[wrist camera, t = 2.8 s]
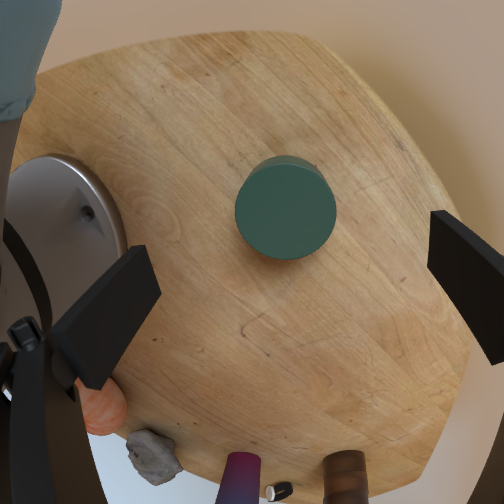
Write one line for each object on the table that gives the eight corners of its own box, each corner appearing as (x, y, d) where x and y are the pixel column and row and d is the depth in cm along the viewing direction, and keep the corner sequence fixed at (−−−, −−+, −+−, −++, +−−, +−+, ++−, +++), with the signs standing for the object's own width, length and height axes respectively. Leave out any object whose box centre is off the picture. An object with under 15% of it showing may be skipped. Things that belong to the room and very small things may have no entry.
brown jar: (314, 464, 37) (313, 521, 28) (337, 447, 34) (339, 511, 25) (349, 468, 38) (352, 521, 28) (374, 451, 35) (380, 510, 25)
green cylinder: (231, 220, 22) (221, 239, 19) (260, 142, 19) (255, 147, 16) (308, 249, 22) (311, 273, 19) (342, 176, 19) (353, 188, 16)
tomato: (56, 340, 31) (23, 381, 24) (124, 359, 30) (94, 412, 23) (82, 393, 36) (59, 431, 29) (144, 412, 35) (125, 458, 28)
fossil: (159, 416, 35) (141, 463, 28) (205, 446, 37) (194, 491, 30) (120, 426, 39) (103, 465, 32) (162, 454, 41) (149, 490, 34)
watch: (264, 507, 41) (256, 493, 44) (285, 500, 43) (277, 487, 46) (278, 495, 38) (269, 479, 41) (300, 487, 40) (291, 472, 43)
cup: (253, 447, 36) (239, 540, 22) (274, 464, 38) (265, 546, 25) (213, 451, 38) (194, 535, 24) (236, 467, 40) (223, 544, 27)
